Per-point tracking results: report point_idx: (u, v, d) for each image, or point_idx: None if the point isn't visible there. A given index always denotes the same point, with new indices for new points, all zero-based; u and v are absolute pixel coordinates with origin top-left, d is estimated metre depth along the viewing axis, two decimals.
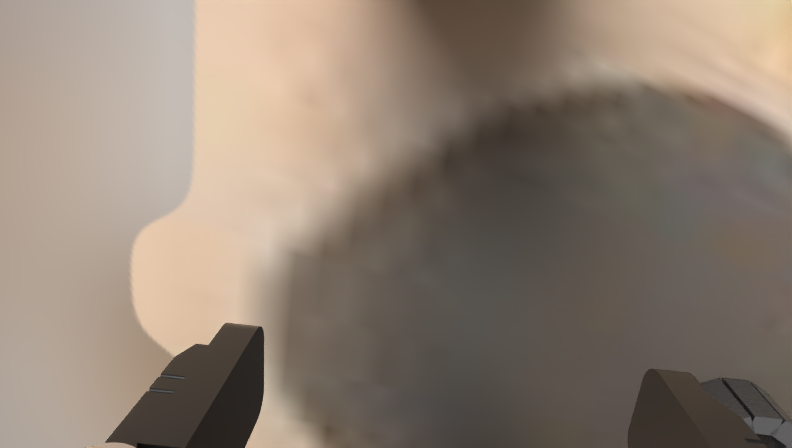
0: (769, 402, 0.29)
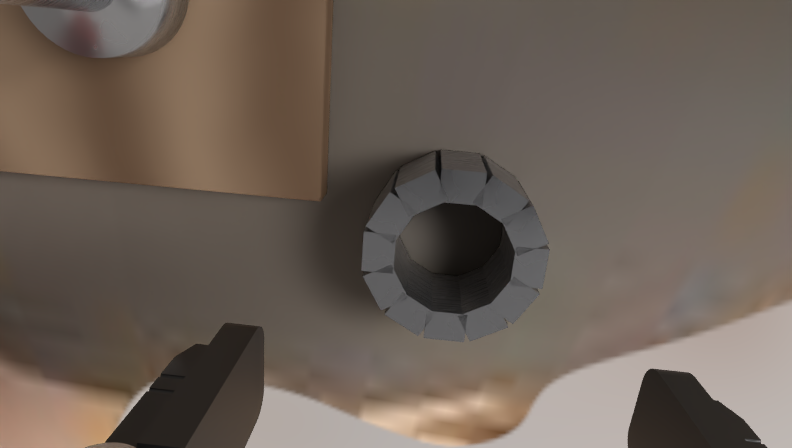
0: None
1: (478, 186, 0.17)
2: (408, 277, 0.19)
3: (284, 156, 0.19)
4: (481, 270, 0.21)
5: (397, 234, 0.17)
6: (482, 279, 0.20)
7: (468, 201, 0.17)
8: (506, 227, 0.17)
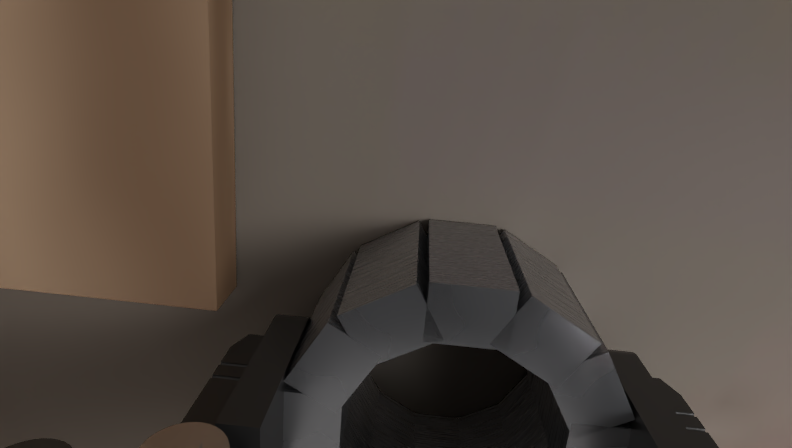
0: None
1: (502, 315, 0.08)
2: (371, 443, 0.11)
3: (148, 234, 0.11)
4: (496, 414, 0.12)
5: (344, 397, 0.09)
6: (499, 439, 0.12)
7: (482, 342, 0.09)
8: (554, 389, 0.09)
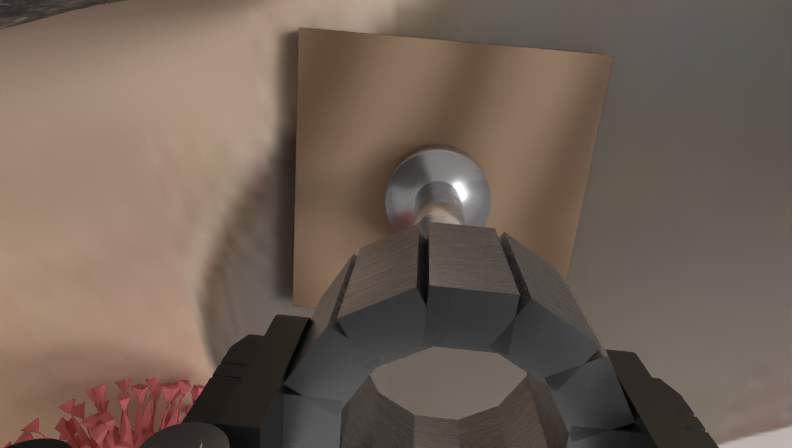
0: None
1: (501, 318, 0.08)
2: (371, 445, 0.11)
3: None
4: (495, 416, 0.12)
5: (344, 399, 0.09)
6: (499, 441, 0.12)
7: (482, 345, 0.09)
8: (554, 392, 0.09)
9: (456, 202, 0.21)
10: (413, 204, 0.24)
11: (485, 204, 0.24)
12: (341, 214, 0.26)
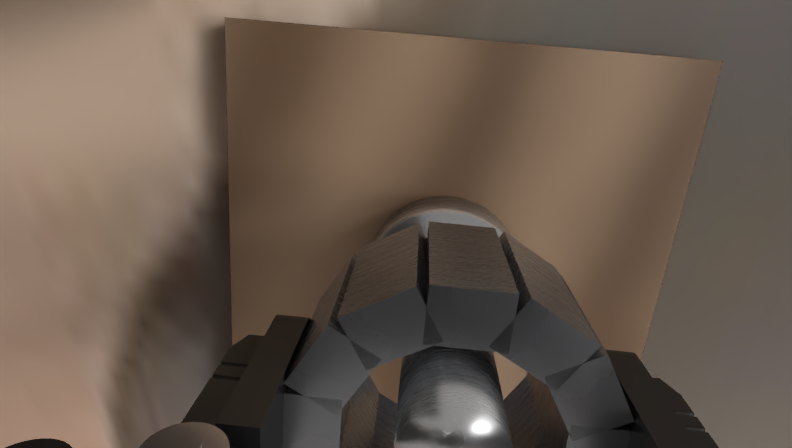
0: None
1: (501, 318, 0.08)
2: (371, 445, 0.11)
3: None
4: None
5: (344, 399, 0.09)
6: None
7: (482, 345, 0.09)
8: (554, 392, 0.09)
9: None
10: None
11: None
12: (300, 296, 0.18)
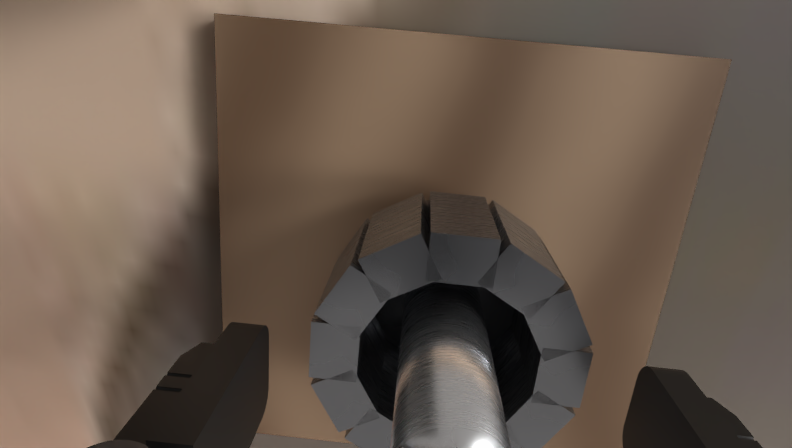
0: None
1: (487, 259, 0.11)
2: (381, 375, 0.13)
3: (585, 432, 0.18)
4: None
5: (362, 326, 0.11)
6: None
7: (472, 281, 0.11)
8: (528, 320, 0.11)
9: (475, 317, 0.12)
10: (402, 299, 0.15)
11: None
12: (293, 302, 0.17)
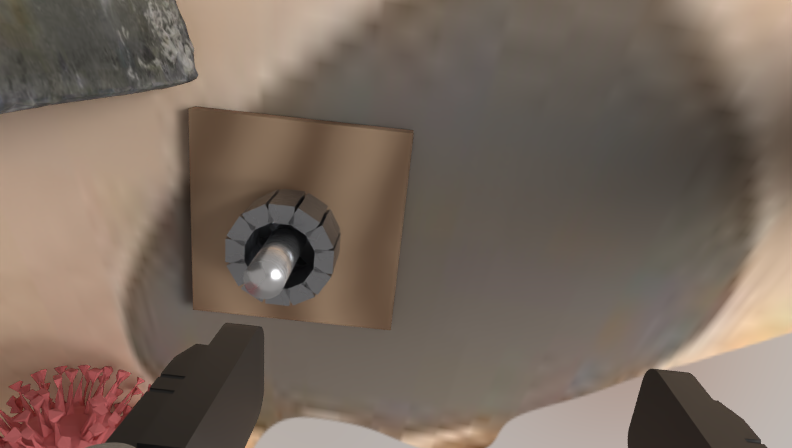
0: None
1: (290, 214, 0.29)
2: None
3: (373, 308, 0.36)
4: (310, 263, 0.33)
5: (245, 240, 0.30)
6: (307, 268, 0.32)
7: (285, 222, 0.29)
8: (308, 237, 0.29)
9: (292, 238, 0.30)
10: None
11: None
12: None
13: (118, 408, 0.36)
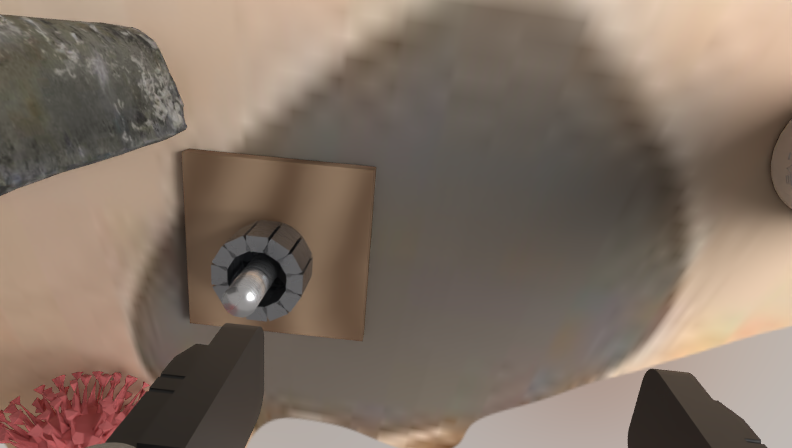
0: (305, 287, 0.37)
1: (264, 244, 0.34)
2: None
3: (346, 322, 0.41)
4: None
5: (227, 266, 0.35)
6: (284, 289, 0.37)
7: (260, 251, 0.34)
8: (280, 263, 0.34)
9: (268, 264, 0.35)
10: None
11: None
12: None
13: (126, 409, 0.42)
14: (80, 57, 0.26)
